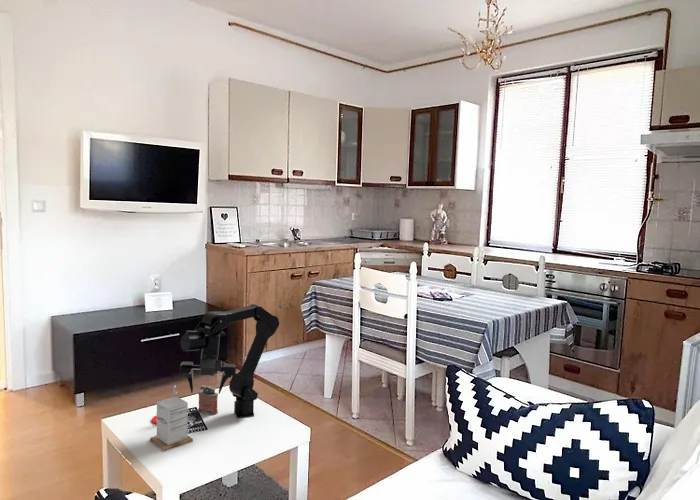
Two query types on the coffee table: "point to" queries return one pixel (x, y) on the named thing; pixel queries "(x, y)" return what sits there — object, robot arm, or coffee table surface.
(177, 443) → the walnut plate
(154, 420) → the tow hook
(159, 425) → the supplement box
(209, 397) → the red-brown boxy piece
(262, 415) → the coffee table surface
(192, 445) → the coffee table surface
